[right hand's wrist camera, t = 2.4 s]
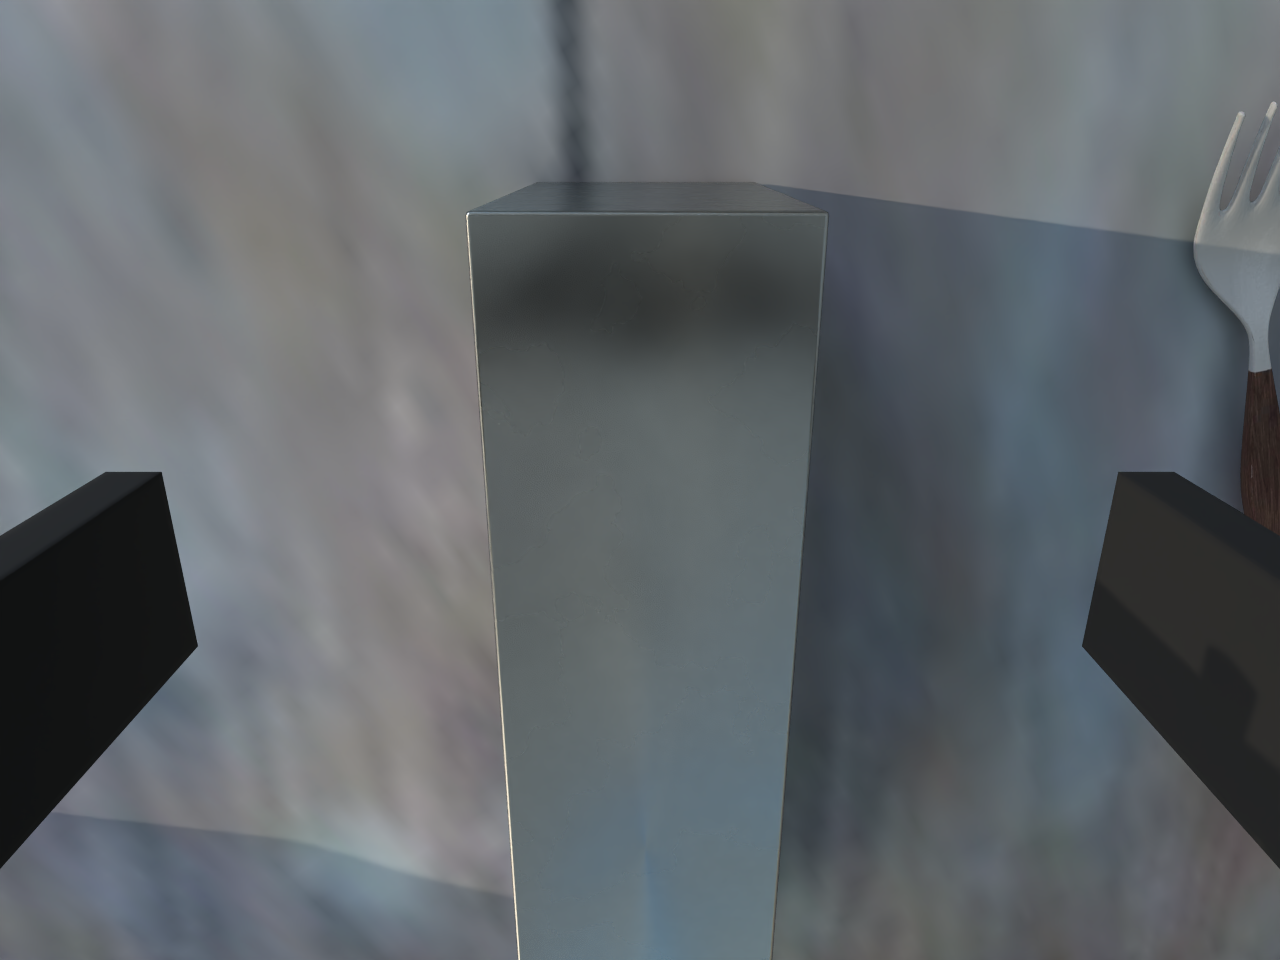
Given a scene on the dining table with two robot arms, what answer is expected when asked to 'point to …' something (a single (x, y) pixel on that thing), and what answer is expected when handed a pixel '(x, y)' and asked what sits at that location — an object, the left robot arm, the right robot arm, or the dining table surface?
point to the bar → (646, 550)
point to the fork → (1249, 306)
